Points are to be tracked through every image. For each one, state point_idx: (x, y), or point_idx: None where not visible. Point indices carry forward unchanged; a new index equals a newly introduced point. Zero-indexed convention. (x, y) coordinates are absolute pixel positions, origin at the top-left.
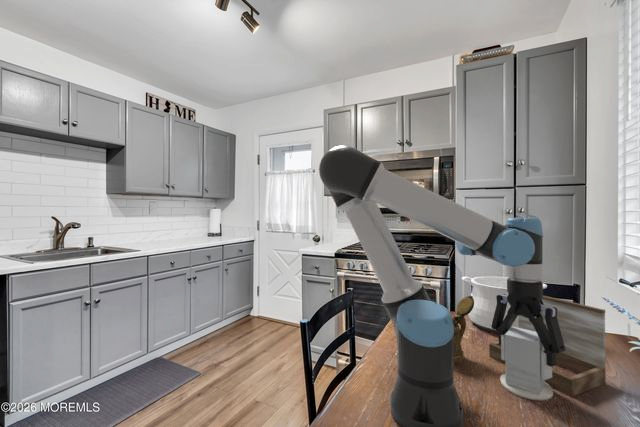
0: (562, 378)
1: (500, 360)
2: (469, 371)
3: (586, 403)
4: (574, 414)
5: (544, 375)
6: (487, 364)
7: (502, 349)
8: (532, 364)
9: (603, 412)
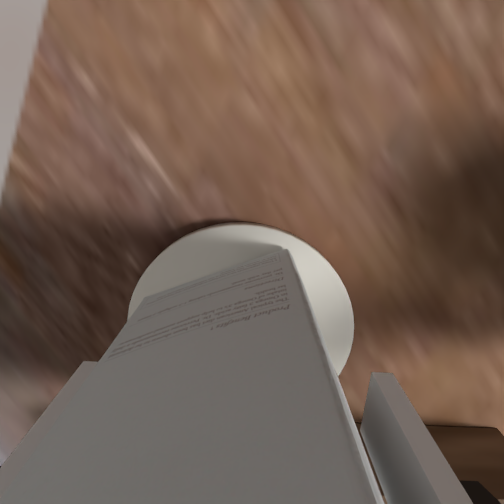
0: None
1: (439, 433)
2: (492, 210)
3: None
4: (22, 307)
5: (71, 381)
6: (464, 358)
7: (421, 440)
8: (104, 400)
9: (6, 408)
